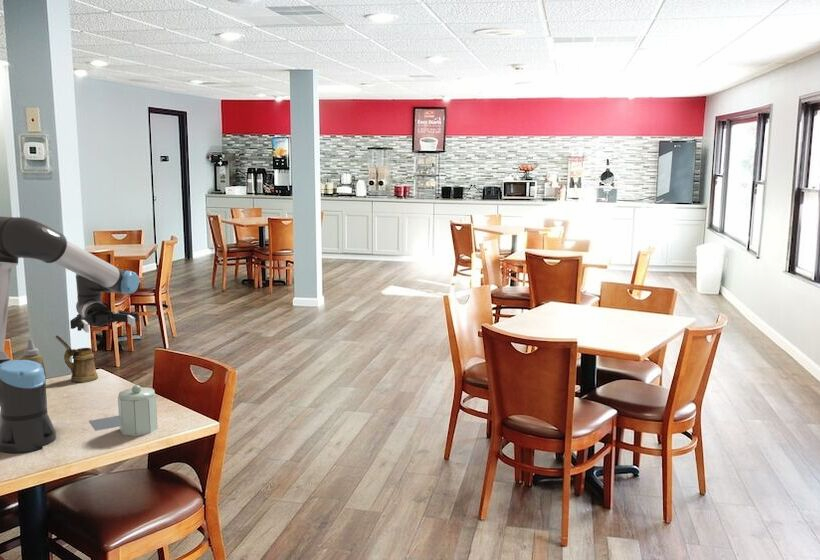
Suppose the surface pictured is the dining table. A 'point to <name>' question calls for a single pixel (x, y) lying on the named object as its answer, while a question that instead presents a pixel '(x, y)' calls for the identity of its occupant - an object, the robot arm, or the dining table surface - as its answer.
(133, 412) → the lidded canister jar
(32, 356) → the squeeze bottle
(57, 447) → the dining table surface
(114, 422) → the mat
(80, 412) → the dining table surface
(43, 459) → the dining table surface
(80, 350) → the wooden mug
